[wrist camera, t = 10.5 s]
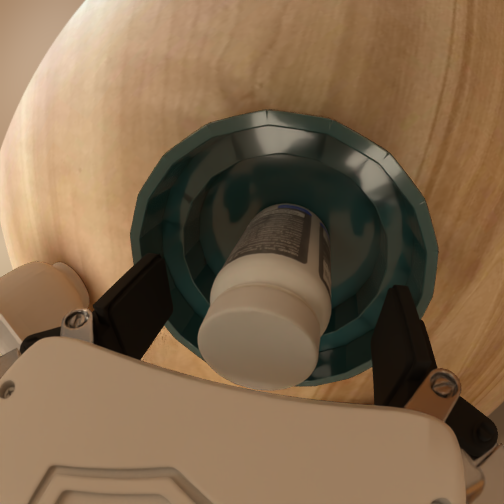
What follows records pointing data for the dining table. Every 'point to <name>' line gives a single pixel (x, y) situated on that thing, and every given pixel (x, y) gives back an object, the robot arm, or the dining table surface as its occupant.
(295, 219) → the pill bottle
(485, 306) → the dining table surface
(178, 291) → the bowl
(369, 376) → the dining table surface
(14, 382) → the robot arm
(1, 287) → the teacup
